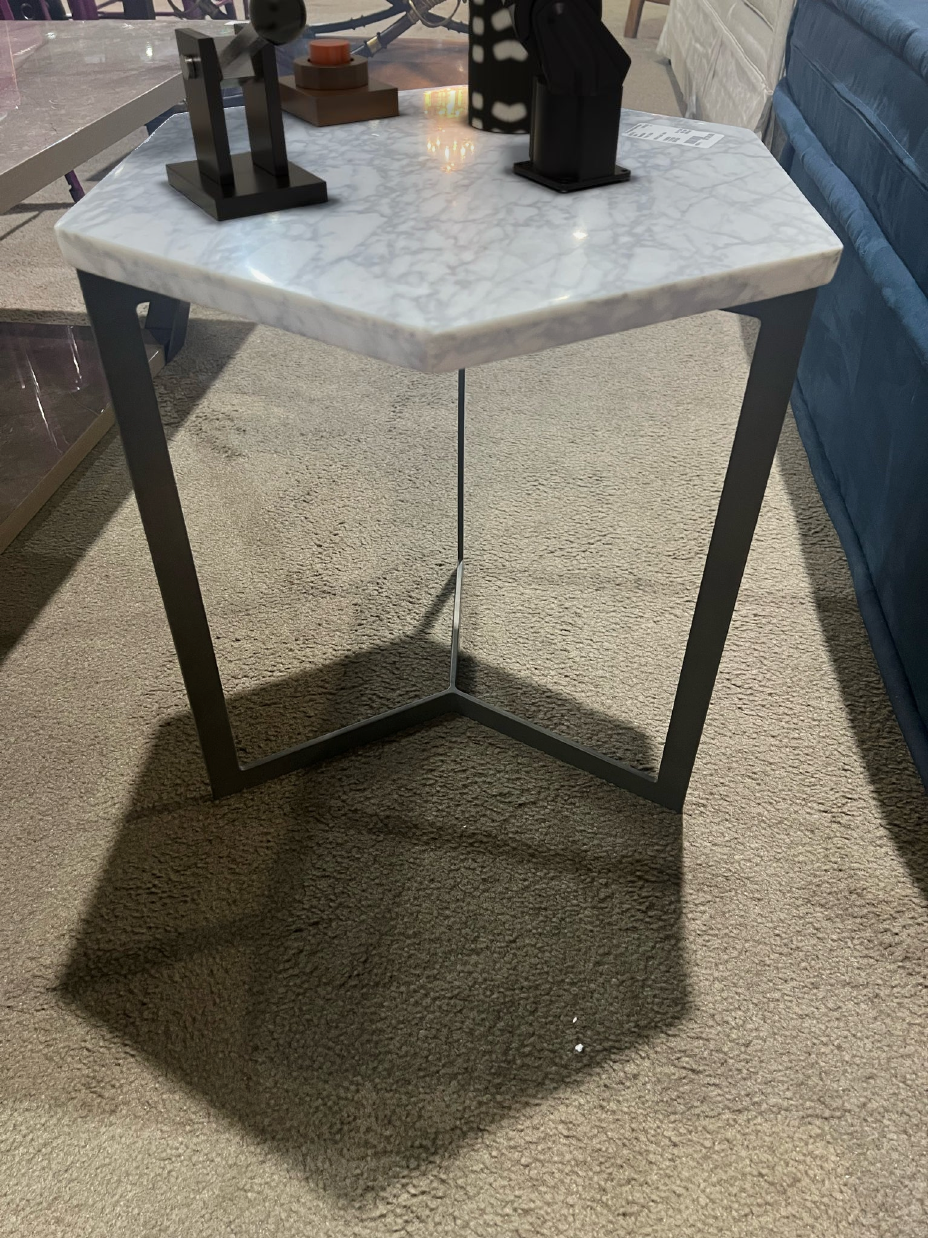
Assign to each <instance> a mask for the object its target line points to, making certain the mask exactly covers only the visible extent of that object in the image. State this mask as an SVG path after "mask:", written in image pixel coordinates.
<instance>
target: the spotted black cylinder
mask: <svg viewBox="0 0 928 1238" xmlns="http://www.w3.org/2000/svg"><path fill="white" fill-rule="evenodd" d="M467 1H468V2H467V6H468V8H467V10H468V11H467V12H468V13H467V14H468V16H467V19H468V21H467V25H468V26H467V33H468V34H467V61H468V62H467V122H468V124H469V125H470V126H472V127H474V128H477V129H479V130H482V131H488V132H493V133H501V134H530V116H531V100H532V98H533V83H534V76H535V75H543V74H544V72H543V70H541V68H540V66H539V62H538V60H536V59H535V58H533V57H532V56H530V55H529V54H528V53H527V52H526V50H525V49H524V48H523V46H522V45H521V44H520V42H519V40H518V38H517V35H516V32H515V30H514V27H513V25H512V22H511V18H510V15H509V8H505V7H504V5H503V2H502V0H467Z"/></svg>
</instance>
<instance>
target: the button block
mask: <svg viewBox="0 0 928 1238" xmlns="http://www.w3.org/2000/svg"><path fill="white" fill-rule="evenodd" d="M350 55H351V62H349V63H342V64H315V63H310V54H305V55H302V56H298V57H295V58H294V59H293V62H292V65H293V74H292V75H291V74H290V75H282V76H278V80H279V89H280V98H281V107H282V111H285V112H288V113H289V114H291V115H294V116H295V117H297V118H299V119H302V120H304V121H306V122H308V123H310V124H312V125H314V126H316V127H326V126H334V125H340V124H347V123H354V122H361V121H362V122H363V121H369V120H375V119H383V118H389V117H396V116H400V106H399V104H400V103H399V88H398V87H397V86H395V85H392V84H388V83H386V82H383V81H380V80H377V79H375V78H374V77H373V78H372V77H370V76H369V61H368V60H369V59H368V57H365V56H363V55H360V54H357V53H350Z"/></svg>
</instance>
